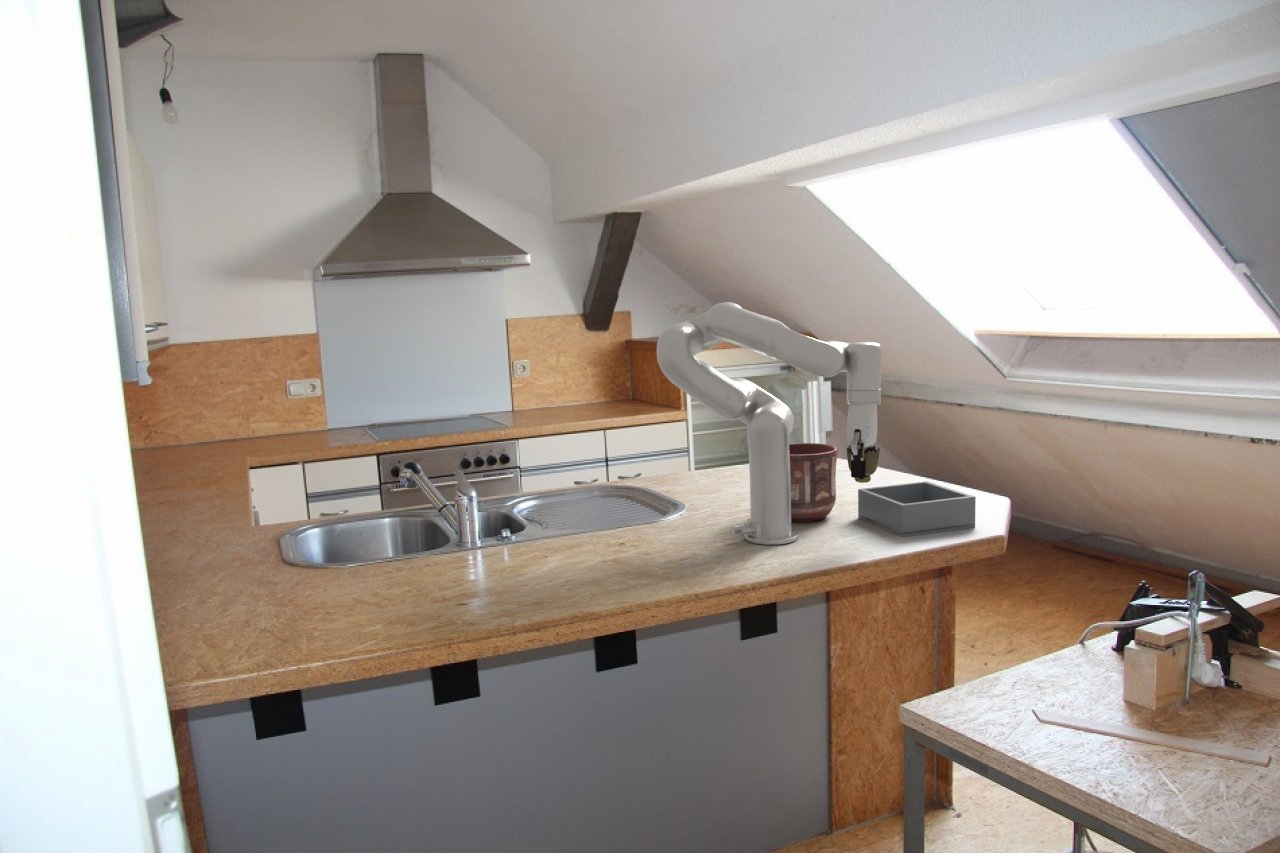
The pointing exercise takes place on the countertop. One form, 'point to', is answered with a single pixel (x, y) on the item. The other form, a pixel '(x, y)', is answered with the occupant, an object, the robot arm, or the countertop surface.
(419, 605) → the countertop surface
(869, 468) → the brown patterned lamp shade
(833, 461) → the pottery
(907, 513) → the crate
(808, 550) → the countertop surface
